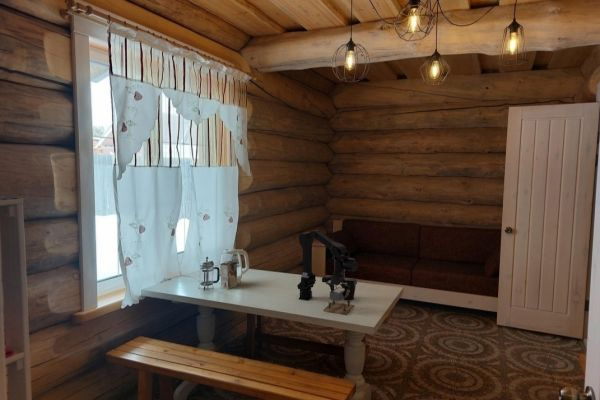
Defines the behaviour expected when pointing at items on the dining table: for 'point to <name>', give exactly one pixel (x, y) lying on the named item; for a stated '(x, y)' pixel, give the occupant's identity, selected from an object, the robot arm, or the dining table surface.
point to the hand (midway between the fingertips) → (339, 295)
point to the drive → (338, 294)
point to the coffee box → (228, 274)
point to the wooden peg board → (339, 308)
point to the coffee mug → (349, 292)
